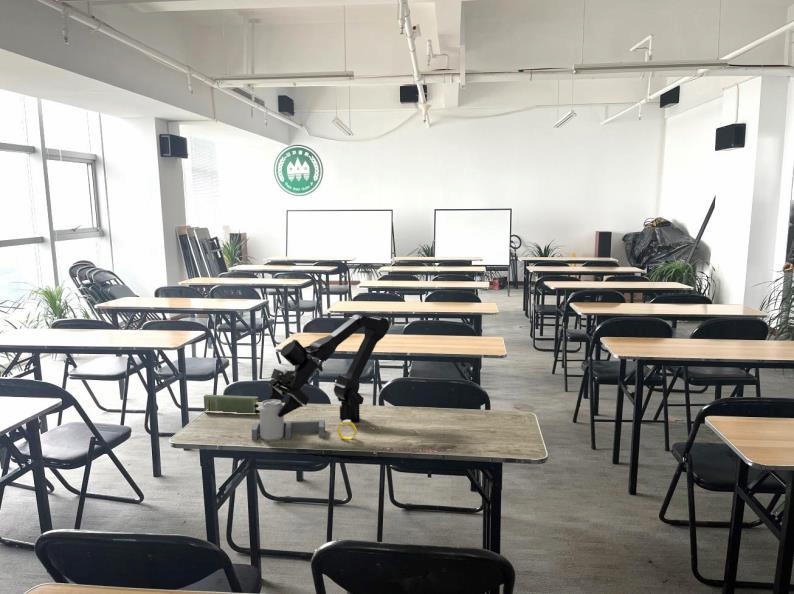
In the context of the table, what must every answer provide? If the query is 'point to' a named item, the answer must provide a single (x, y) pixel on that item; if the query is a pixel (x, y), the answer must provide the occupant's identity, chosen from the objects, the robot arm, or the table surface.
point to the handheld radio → (231, 403)
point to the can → (271, 420)
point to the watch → (351, 425)
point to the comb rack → (295, 428)
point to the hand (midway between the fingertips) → (272, 412)
